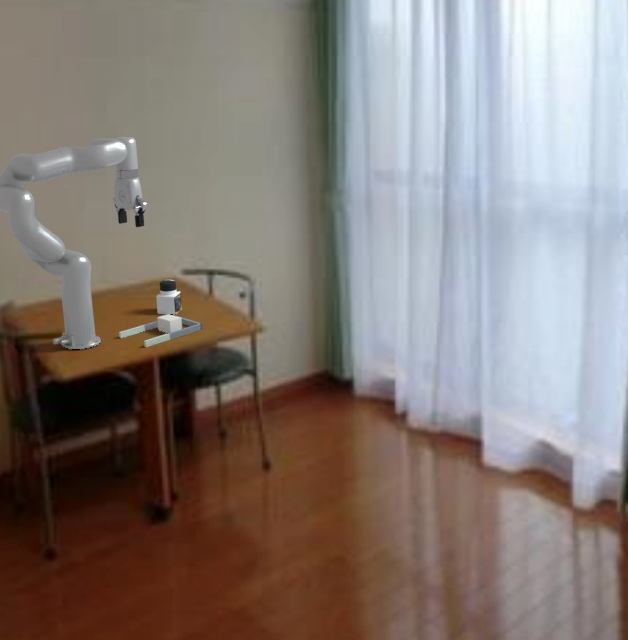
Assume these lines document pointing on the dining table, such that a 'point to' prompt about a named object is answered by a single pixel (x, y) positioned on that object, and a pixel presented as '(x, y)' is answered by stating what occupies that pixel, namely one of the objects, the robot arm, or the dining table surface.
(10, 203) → the robot arm
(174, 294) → the medicine bottle
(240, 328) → the dining table surface
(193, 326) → the bay
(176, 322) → the white block
